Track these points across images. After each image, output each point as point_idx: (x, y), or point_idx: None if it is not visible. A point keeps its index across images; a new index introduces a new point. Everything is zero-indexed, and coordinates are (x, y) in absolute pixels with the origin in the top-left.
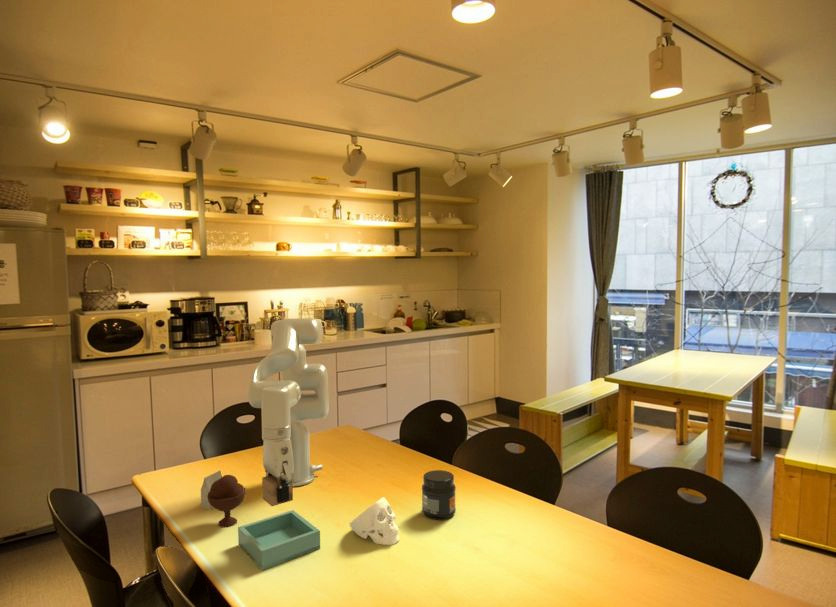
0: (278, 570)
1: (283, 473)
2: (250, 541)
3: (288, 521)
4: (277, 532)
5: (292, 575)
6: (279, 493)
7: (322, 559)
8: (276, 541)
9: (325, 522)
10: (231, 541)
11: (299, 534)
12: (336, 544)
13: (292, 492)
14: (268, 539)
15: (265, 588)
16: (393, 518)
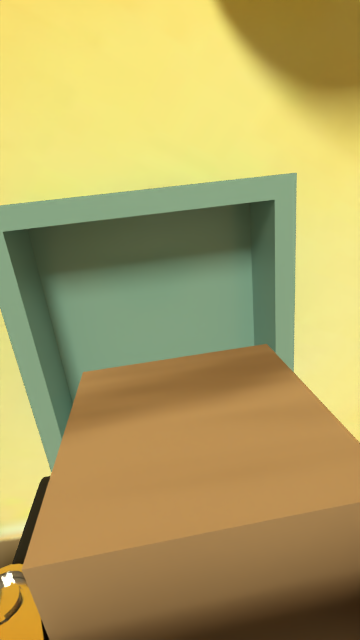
0: (295, 351)
1: (89, 568)
2: None
3: (22, 243)
4: (62, 298)
5: (346, 324)
6: None
7: (332, 204)
8: (138, 321)
9: (33, 31)
10: (28, 440)
11: (130, 222)
12: (272, 97)
13: (295, 377)
14: (106, 343)
15: (350, 399)
16: None
